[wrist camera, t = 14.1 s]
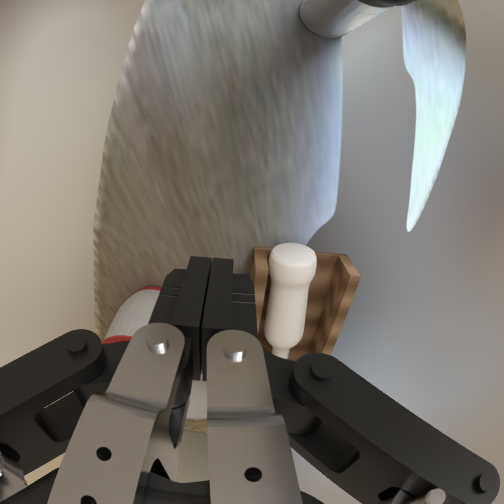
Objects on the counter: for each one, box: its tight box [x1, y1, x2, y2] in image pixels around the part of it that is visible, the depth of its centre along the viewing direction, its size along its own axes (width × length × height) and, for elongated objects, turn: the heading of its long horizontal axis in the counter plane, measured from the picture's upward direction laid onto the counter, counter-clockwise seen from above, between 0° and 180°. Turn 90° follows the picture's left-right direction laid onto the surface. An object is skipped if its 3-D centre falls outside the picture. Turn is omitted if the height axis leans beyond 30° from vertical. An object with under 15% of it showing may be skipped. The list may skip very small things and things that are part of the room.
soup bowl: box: [186, 370, 207, 419], centre depth 66 cm, size 24×24×7 cm
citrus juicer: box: [101, 286, 161, 344], centre depth 49 cm, size 16×17×20 cm
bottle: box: [264, 243, 317, 359], centre depth 53 cm, size 8×8×30 cm
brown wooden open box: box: [250, 247, 361, 362], centre depth 56 cm, size 32×18×8 cm, turn 174°
